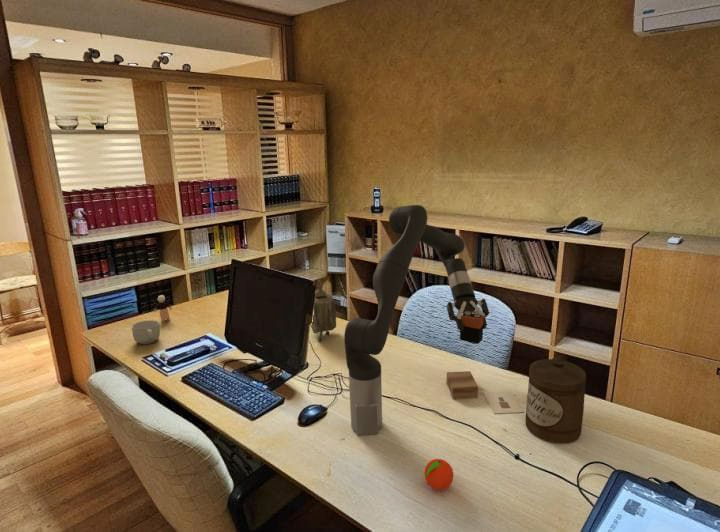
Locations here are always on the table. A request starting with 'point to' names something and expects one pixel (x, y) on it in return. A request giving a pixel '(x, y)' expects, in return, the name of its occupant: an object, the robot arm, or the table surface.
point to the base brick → (462, 385)
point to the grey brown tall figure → (323, 312)
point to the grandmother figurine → (163, 309)
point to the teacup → (146, 331)
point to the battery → (472, 327)
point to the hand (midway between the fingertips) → (473, 329)
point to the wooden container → (555, 400)
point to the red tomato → (438, 474)
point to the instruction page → (502, 402)
